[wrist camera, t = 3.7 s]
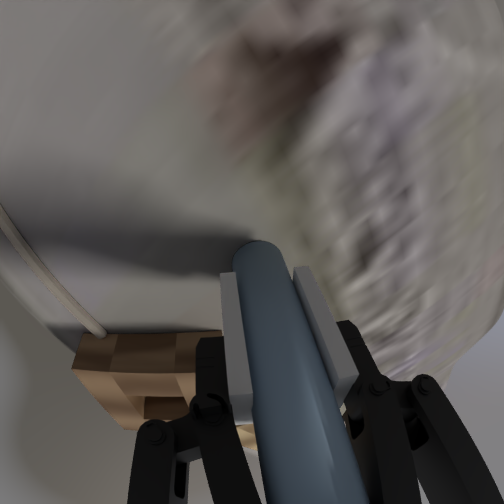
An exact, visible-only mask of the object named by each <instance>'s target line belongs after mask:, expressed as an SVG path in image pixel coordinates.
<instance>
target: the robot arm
mask: <svg viewBox="0 0 504 504" xmlns="http://www.w3.org/2000/svg"><path fill="white" fill-rule="evenodd" d="M293 284H294V287H295V289H296V292H297V295H298V297H299V300H300V302H301V305H302V308H303V310H304V313H305V316H306V318H307V321H308V323H309V326H310V329H311V331H312V334H313V337H314V339H315V342H316V345H317V348H318V350H319V353H320V356H321V359H322V361H323V364H324V367H325V370H326V372H327V375H328V378H329V381H330V384H331V386H332V389H333V392H334V395H335V398H336V401H337V403H338V406H339V408H341V406H342V404H343V402H344V404H345V406H346V411H345V413H344V414H343V416H342V418H343V421H345V424H346V430H347V433H348V436H349V439H350V442H351V445H352V448H353V451H354V454H355V457H356V460H357V463H358V466H359V469H360V472H361V476H362V479H363V482H364V485H365V488H366V492H367V495H368V498H369V501H370V504H422V502H421V496H420V490H419V485H418V480H419V482H420V484H421V486H422V488H423V490H424V492H425V494H426V496H427V499H428V501H429V503H430V504H504V501H503V499H502V497H501V494H500V492H499V490H498V488H497V486H496V483H495V481H494V479H493V478H492V475H491V473H490V471H489V469H488V467H487V466H486V464H485V462H484V460H483V458H482V456H481V454H480V452H479V450H478V449H477V447H476V445H475V443H474V441H473V440H472V438H471V436H470V434H469V433H468V431H467V429H466V428H465V426H464V424H463V423H462V421H461V419H460V418H459V416H458V414H457V413H456V411H455V410H454V408H453V406H452V405H451V403H450V402H449V400H448V398H447V397H446V395H445V394H444V392H443V391H442V389H441V388H440V386H439V385H438V383H437V382H436V380H435V379H434V378H433V377H431V376H429V375H426V374H421V375H417V376H416V377H415V378H414V379H413V380H412V381H392V380H390V379H389V378H388V377H386V376H384V375H382V374H381V373H380V372H379V370H378V368H377V366H376V364H375V362H374V360H373V358H372V356H371V354H370V352H369V350H368V348H367V346H366V345H365V342H364V340H363V338H362V336H361V334H360V332H359V330H358V328H357V327H356V326H355V325H354V324H353V323H352V322H350V321H349V320H345V321H339V322H335V320H334V317H333V315H332V313H331V311H330V309H329V307H328V305H327V303H326V301H325V299H324V296H323V294H322V292H321V290H320V288H319V286H318V284H317V282H316V280H315V278H314V276H313V274H312V272H311V270H310V268H309V266H302V267H294V272H293ZM220 287H221V303H222V317H223V331H224V336H218V337H203V338H200V340H199V342H198V344H197V346H196V354H195V358H196V360H195V367H196V369H195V388H196V395H195V396H194V397H193V398H192V400H191V401H190V403H189V411H190V412H189V413H188V414H187V415H185V416H183V417H181V418H178V419H175V420H172V421H168V422H165V421H163V420H159V419H151V420H148V421H146V422H144V423H143V424H142V425H141V426H140V427H139V430H138V432H137V438H136V443H135V450H134V456H133V462H132V469H131V476H130V483H129V492H128V501H127V504H187V503H188V502H187V501H188V480H189V464H190V462H191V461H194V460H197V459H200V458H202V460H203V465H204V469H205V473H206V476H207V480H208V484H209V488H210V491H211V495H212V498H213V502H214V504H262V503H261V501H260V498H259V495H258V492H257V490H256V487H255V484H254V481H253V478H252V475H251V472H250V469H249V466H248V463H247V460H246V457H245V454H244V451H243V448H242V444H241V441H240V438H239V435H238V431H237V428H236V425H243V424H253V418H252V412H251V409H252V406H253V390H252V384H251V377H250V371H249V364H248V357H247V351H246V344H245V337H244V330H243V323H242V316H241V309H240V302H239V295H238V288H237V280H236V273H235V272H228V273H220ZM417 478H418V479H417Z"/></svg>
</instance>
